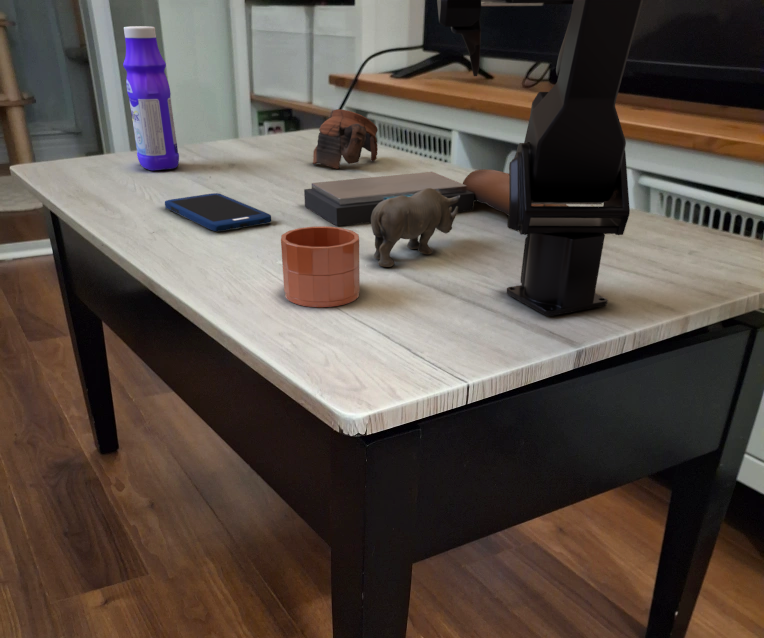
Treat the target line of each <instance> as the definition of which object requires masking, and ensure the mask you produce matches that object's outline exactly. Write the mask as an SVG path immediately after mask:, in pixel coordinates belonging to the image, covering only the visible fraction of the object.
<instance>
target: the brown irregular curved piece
mask: <svg viewBox="0 0 764 638" xmlns="http://www.w3.org/2000/svg"><path fill="white" fill-rule="evenodd" d="M378 130H379V129H378V126H377V125H376V124H375V123H374V122H373V121H371V120H370V119H369V118H367V117H365V116H364V115H361V114H359V113H357V112H354V111H350V110H347V109H341V108H338V109H334V110H332V111H331V112H330V117H329V118H327V119H326V120H324V121H323V123H322V124H321V125H320V127H319V129H318V131H319V133H318V136H317V145H316V146H315V148H314V149H313V158H312V164H313V165H317V164H320V165H321V166H326V167H329V168H333V169H336V170H339V169H340V165H341V161H342V158H343V159H344V161H345V162H346V163H347V164H349V165H350V164H357V163H359V161H360V159H361V156H362V155H361V154H362V150H363V149H365V150H366V151H367V152H369V153H370V161H371V162H375V160H377V157H378V150H379V148H378V138H377V136H376V135H377V133H378Z"/></svg>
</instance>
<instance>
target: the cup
mask: <svg viewBox="0 0 764 638" xmlns="http://www.w3.org/2000/svg"><path fill="white" fill-rule="evenodd" d="M280 247H281V262H282V278H283V291H284V296H285V299H286V300H287V301H288V302H290V303H293V304H295V305H299V306H303V307H309V308H332V307H339V306H344V305H348V304H350V303H353V302H354V301H356V300H357V299H358V298H359V296H360V289H361V288H360V235H359V234H358V233H357V232H356V231H354V230H351V229H348V228H344V227H339V226H330V225H329V226H325V225H324V226H317V225H315V226H305V227H298V228H294V229H291V230H288V231H285V232H284V233H282V234H281V237H280Z"/></svg>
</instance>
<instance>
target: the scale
mask: <svg viewBox="0 0 764 638" xmlns="http://www.w3.org/2000/svg"><path fill="white" fill-rule="evenodd" d="M425 188H432V189H434V190H437V189H439V190H440V191H441V195H443V196H444V197H447V198H453V197H456V196H458V195H460V199H459V201H458V202H456V203H454V204H452V205H450V206H449V208H450V207H452V211H451V213H453V211H454V210H455V208H456V207H458V212H457V213H461V212H462V213H464V212H471V211H472V212H473V211H474V205H475V204H474V203H475V201H474V193H473V192H470V191H468V190H466V189H467V186H466V185H464V184H463V182H459V181H457V180H455V179H452V178H449V177H446V176H443V175H441V174H440V173H436V172H433V171H425V172H414V173H413V172H412V173H402V174H392V175H384V176H383V175H382V176H372V177H371V176H370V177H361V178H351V179H340V180H339V179H338V180H330V181H329V180H328V181H320V182H319V181H318V182H311V188H304V189H303V191H304V197H303V198H304V207H305V208H307V209H308V210H310V211H312V212H313V213H314V214H316V215H318V216H319V217H321V218H323V219H324V220H326V221H327V222H329V223H330V224H332V225H333V226H335V227H344V226H345V227H346V226H352V225H363V224H369V223H370V224H371V215H372V212H373V210H374V208H375V207H376V206H377V205H378V204H379V203H380V202H381V201H383V200H386V199H389V198H394V197H397V196H401V195H402V196H407V197H410V196H412V195H414V194H415V193H417V192H419V191H421V190H423V189H425Z"/></svg>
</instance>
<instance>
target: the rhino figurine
mask: <svg viewBox="0 0 764 638" xmlns="http://www.w3.org/2000/svg"><path fill="white" fill-rule="evenodd" d="M459 199H460V195H458V196H456V197H453V198H447V197H444V196H443V195H441V191H440V190H439V189H437V190H434V189H432V188H425V189H423V190H421V191H419V192H417V193H415V194H414V195H412V196H410V197H407V196H402V195H401V196H397V197H394V198H389V199H386V200H383V201H381V202H380V203H379V204H378V205H377V206H376V207H375V208H374V210H373V212H372V215H371V223H370V224H371V230H372V234H373V236H374V247H375V252H374V255H373V258H374V259H376V260H378V261H377V264H378V266H380V267H385V268H391V267H393V266H394V265H395V261H394V260H393V258H391V257H390V255H391V252H392V250H393V249H394V247H395V245H396V244H397V243H398V241H400V239H402V240H409V241H408V243H407V246H406V247H407V248H408V249H411V250H416V249H417V250H418V252H419V253H420V254H423V255H431V254H432V253H433V248H432V247H430V246H429V241H430V239H431V238H432V236H433V235H434V234H435V231H436V230H438V231H439V232H441V233H443V234H448V233H450V232H451V231H452V230H453V224H454V221H455V219H456V217H457V214H458V213H459V212H458V207H456V208H455V210H454V211H453V213H451V211H452V207H450V208H449V206H450V205H452V204H454V203H456V202H458V201H459Z"/></svg>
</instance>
